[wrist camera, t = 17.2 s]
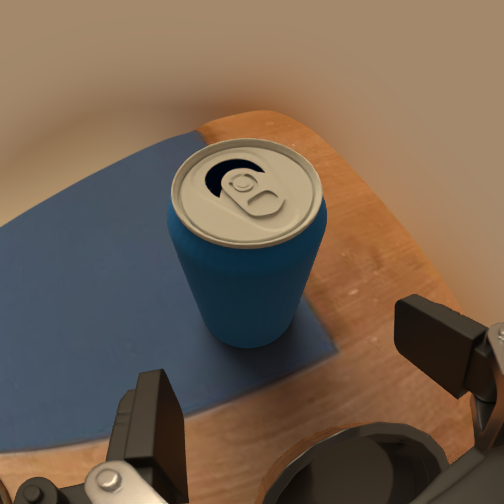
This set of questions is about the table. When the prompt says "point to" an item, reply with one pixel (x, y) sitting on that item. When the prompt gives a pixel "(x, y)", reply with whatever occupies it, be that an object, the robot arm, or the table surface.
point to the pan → (355, 466)
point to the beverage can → (247, 235)
